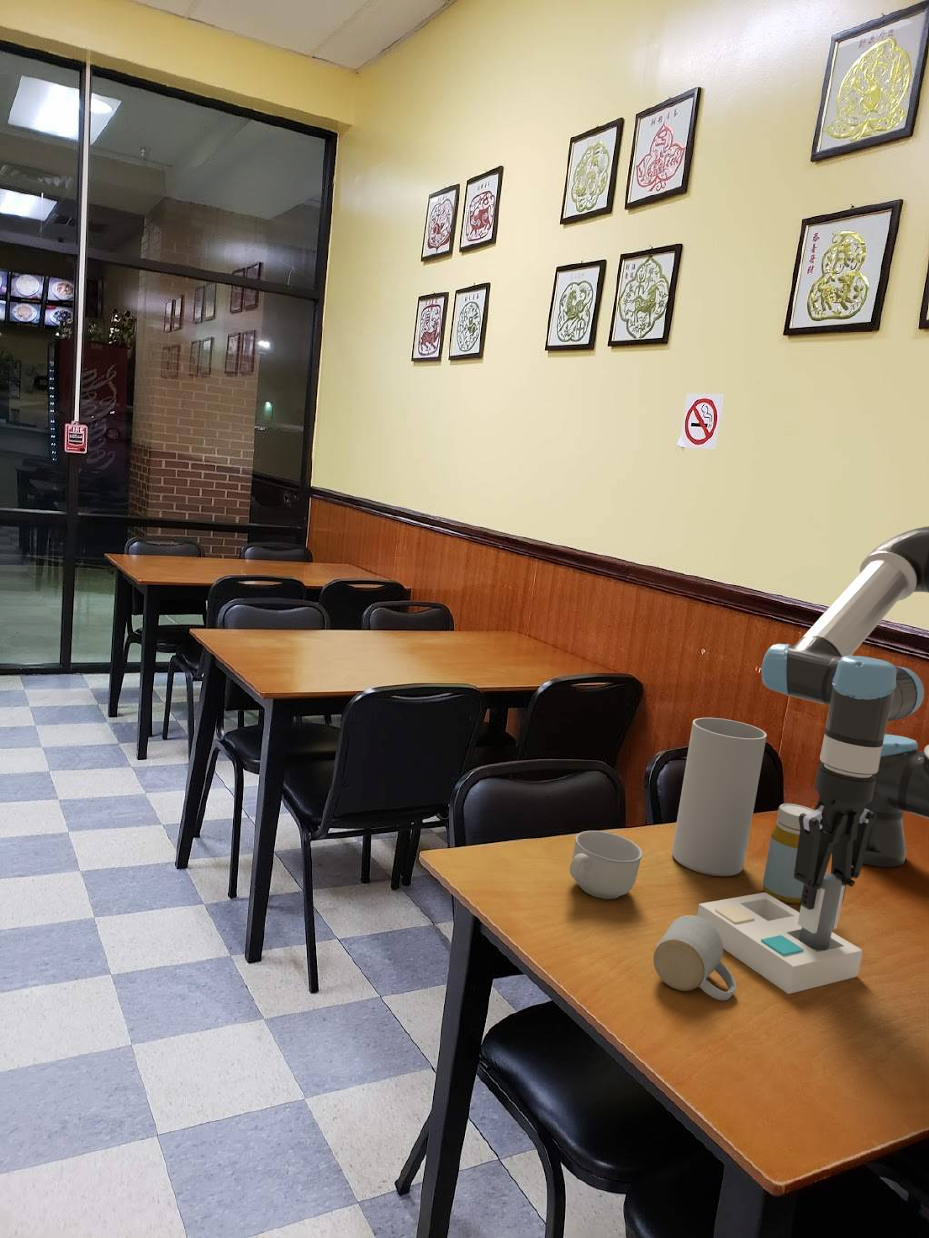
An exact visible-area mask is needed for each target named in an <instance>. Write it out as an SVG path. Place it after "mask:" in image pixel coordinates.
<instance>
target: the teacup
mask: <svg viewBox="0 0 929 1238" xmlns="http://www.w3.org/2000/svg"><path fill="white" fill-rule="evenodd" d="M574 840H575V844H574V849H573V854H572V858H571V862H570V866H569V873H570V875H571V878H573V880H574V881H575V882H576V883H577V884H578V886H579V887H580V888H581V889H582V890H583V891H584V892H585V893H587V894H588V895H591V896H592V897H596V898H598V899H599V898H601V899H605V900H609V899H617V898H619V897H621V896H624V895H626V894H627V893H629V892H630V891H631V890H632V889H633V887H634V886H635V883H636V880H637V876H638V872H639V868H640V863H641V860H642V858H643V856H644V855H643V851H642V849H641V847H640V846H639V845H637V844H636V843H635V842H633V841H632V840H631V839H629V838H626V837H624V836H622V835H619V834H616V833H611V832H607V831H603V830H602V831H601V830H586V831H585V830H584V831H581V832H579V833H577V834H576V835H575V839H574Z"/></svg>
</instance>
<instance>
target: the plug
mask: <svg viewBox="0 0 929 1238" xmlns="http://www.w3.org/2000/svg"><path fill="white" fill-rule="evenodd" d="M841 883H842V880H841V879H840V878H839V877H838V876H836V875H834V874H831V872H828V871H826V873H825V876H824V879H823V882H822V885H821V888H824V889H825V892H824V897H823V902H822V908H821V913H820V918H819V923H818V928H817V933H811V932H810V931H808V930H806V929H805V928H803V927H801V932H800V937H799V940H800V942H802V943H804V944H805V945H807V946H808V947H810V948H812V949H815V950H827V949H828V948H829V944H830V939H831V934H832V932H833V930H834V929H833V924H834V919H835V914H836V908H837V903H838V898H839V893H840V888H841Z"/></svg>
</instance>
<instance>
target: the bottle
mask: <svg viewBox="0 0 929 1238" xmlns="http://www.w3.org/2000/svg"><path fill="white" fill-rule="evenodd" d="M812 812H814V809H812V808H810V807H807V806H804V805H799V804H795V803H782V804H780V805H779V807H778V812H777V819H776V825H775V826H774V828H773V830H772V831H771V834H770V840H769V844H768V845H769V846H768V852H767V856H766V863H765V869H764V874H763V878H762V879H763V880H762V886H761V887H762V890H763V892H764V893H765V892H766V893H767V894H769V895H771V896H772V897H774V898H776V899H777V900H779V901H781V902H782V903H784V904H787V905H788V904H791V905H792V904H793V905H796V904H801V897H802V892H803V886H804V884H803V883H802V882H800V881H798V880H796V879H795V878H794V870H795V863H796V856H797V849H798V842H799V834H800V824H799V816H800V814H801V813H804V814H807V815H809V814H810V813H812Z"/></svg>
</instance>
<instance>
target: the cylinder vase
mask: <svg viewBox="0 0 929 1238" xmlns="http://www.w3.org/2000/svg"><path fill="white" fill-rule="evenodd" d="M767 735H768V734H767V733H766V731H764V730H763V729H761V728H758V727H756V726H753V725H751V724H747V723H745V722H742V721H741V722H740V721H736V720H731V719H727V718H726V719H725V718H716V717H700V718H695V719H693V721H692V725H691V731H690V736H689V737H690V739H689V744H688V750H687V756H686V761H685V762H686V763H685V767H684V775H683V781H682V788H681V792H680V793H681V795H680V799H679V800H680V801H679V806H678V812H677V816H676V817H677V818H676V819H677V820H676V824H675V831H674V836H673V841H672V849H671V854H672V857H673V858H674V860H676V862H678V863H679V864H680V865H681V866H683V867H685V868H687V869H689V870H691V871H694V872H696V873H700V874H704V875H707V876H713V877H714V876H715V877H731V876H735V875H738V874H739V873H741V872H742V871H743V869H744V866H745V862H746V855H747V849H748V844H749V838H750V834H751V833H750V832H751V826H752V821H753V816H754V815H753V814H754V809H755V805H756V798H757V793H758V786H759V781H760V774H761V770H762V763H763V758H764V754H765V753H764V752H765V748H766V747H765V746H766V741H767Z"/></svg>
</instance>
